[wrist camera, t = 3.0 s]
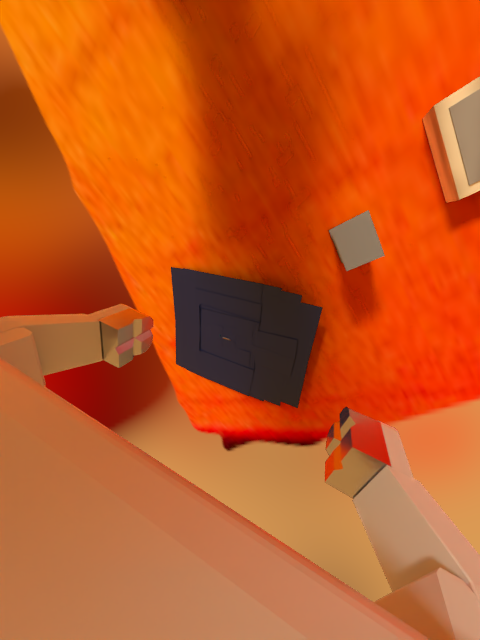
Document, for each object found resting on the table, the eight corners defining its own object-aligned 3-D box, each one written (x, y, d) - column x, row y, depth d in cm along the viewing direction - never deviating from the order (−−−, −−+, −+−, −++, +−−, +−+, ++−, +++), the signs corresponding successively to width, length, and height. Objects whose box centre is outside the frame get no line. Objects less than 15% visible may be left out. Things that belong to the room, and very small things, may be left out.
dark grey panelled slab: (298, 405, 44) (294, 418, 41) (183, 359, 55) (173, 366, 52) (327, 291, 34) (324, 296, 31) (180, 264, 46) (167, 266, 43)
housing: (341, 262, 33) (346, 271, 26) (328, 230, 32) (330, 230, 25) (370, 250, 31) (384, 255, 24) (357, 215, 30) (368, 210, 23)
